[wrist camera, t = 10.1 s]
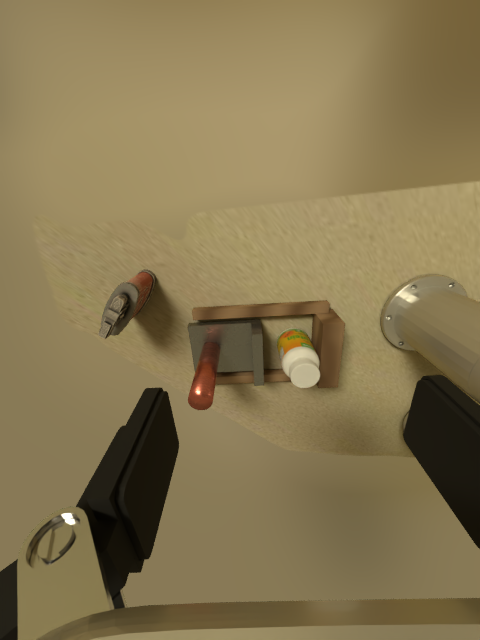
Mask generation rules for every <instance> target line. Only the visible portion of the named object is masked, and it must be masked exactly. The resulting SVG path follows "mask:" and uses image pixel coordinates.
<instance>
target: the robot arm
mask: <svg viewBox="0 0 480 640" xmlns="http://www.w3.org/2000/svg"><path fill="white" fill-rule="evenodd" d="M381 328H382V331H383V334H384V336H385V337H386V338H387V339H388V340H389V341H390V342H391V343H392V344H393V345H395V346H396V347H398V348H401V349H404V350H411V351H417V352H418V353H420V354H421V355H422V356H423V357H424V358H426V359H427V360H428V361H429V362H431V363H432V364H433V365H434V366H435V367H437V368H438V369H439V370H440V371H441V372H443V373H444V374H445V375H446V376H447V377H449V378H450V379H451V380H452V381H453V382H455V383H456V384H457V385H458V386H459V387H461V388H462V389H463V390H464V391H465V392H467V393H468V394H469V395H470V396H471V397H473V398H474V399H475V400H476V401H478V402H479V403H480V302H478V301H476V300H473V299H471V298H468V297H467V294H466V291H465V289H464V288H463V286H462V285H461V284H460V283H458V282H457V281H456V280H454V279H452V278H449V277H446V276H443V275H425V276H420V277H417V278H415V279H412V280H410V281H408V282H407V283H405V284H403V285H402V286H401V287H399V288H398V289H397V290H396V291H395V292H394V293H393V294H392V295H391V296H390V297H389V299H388V300H387V302H386V303H385V306H384V308H383V310H382V314H381ZM403 436H404V440H405V442H406V444H407V446H408V447H409V449H410V450H411V451H412V453H413V454H414V456H415V457H416V459H417V460H418V462H419V463H420V464H421V466H422V467H423V469H424V470H425V472H426V473H427V475H428V476H429V477H430V479H431V480H432V482H433V483H434V484H435V486H436V488H437V489H438V491H439V492H440V493H441V495H442V496H443V498H444V499H445V501H446V502H447V503H448V505H449V506H450V508H451V509H452V511H453V512H454V514H455V515H456V517H457V518H458V520H459V521H460V522H461V524H462V525H463V527H464V528H465V530H466V531H467V532H468V534H469V536H470V537H471V538H472V540H473V541H474V543H475V544H476V545H477V547H478V548H480V406H479V405H478V404H477V403H476V402H474V401H473V400H472V399H471V398H470V397H469V396H467V395H466V394H465V393H464V392H463V391H461V390H460V389H459V388H458V387H457V386H455V385H454V384H453V383H452V382H451V381H450V380H448V379H447V378H446V377H444V376H442V375H433V376H423V377H422V378H421V380H419V381H418V382H417V385H416V388H415V392H414V396H413V399H412V403H411V407H410V410H409V414H408V418H407V421H406V425H405V429H404V433H403ZM178 449H179V441H178V437H177V432H176V427H175V423H174V419H173V414H172V410H171V406H170V401H169V396H168V393H167V392H166V391H163V389H162V388H146V389H145V390H144V392H143V394H142V396H141V398H140V399H139V401H138V403H137V405H136V407H135V409H134V411H133V413H132V415H131V416H130V418H129V420H128V422H127V424H126V426H122V427H121V428H120V429H119V430H118V432H117V433H116V435H115V437H114V439H113V441H112V442H111V444H110V446H109V448H108V450H107V451H106V453H105V455H104V457H103V459H102V460H101V462H100V464H99V466H98V468H97V469H96V471H95V473H94V475H93V477H92V478H91V480H90V482H89V484H88V486H87V488H86V489H85V491H84V493H83V495H82V496H81V498H80V500H79V502H78V504H77V506H76V507H67V508H64V509H60V510H58V511H56V512H54V513H52V514H51V515H49V516H48V517H47V518H45V519H44V520H43V521H41V522H40V523H39V524H38V525H37V526H36V527H35V529H33V530H32V531H31V533H30V534H29V536H28V537H27V539H26V540H25V541H24V543H23V546H22V548H21V550H20V552H19V556H18V559H17V560H16V561H14V562H13V563H12V564H10V565H9V566H7V567H6V568H5V569H3V570H2V571H1V572H0V640H480V598H453V599H452V598H451V599H450V598H447V599H378V600H377V599H375V600H318V601H317V600H315V601H267V602H224V603H223V602H221V603H194V604H171V605H148V606H139V607H130V608H127V605H126V601H125V598H124V594H123V591H122V588H123V587H124V586H125V584H126V581H127V577H128V574H129V573H137V572H141V570H142V566H143V562H144V559H149V557H150V555H151V552H152V549H153V546H154V542H155V538H156V534H157V530H158V526H159V522H160V518H161V515H162V511H163V507H164V503H165V500H166V496H167V492H168V488H169V485H170V481H171V477H172V473H173V469H174V465H175V462H176V458H177V454H178Z"/></svg>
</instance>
